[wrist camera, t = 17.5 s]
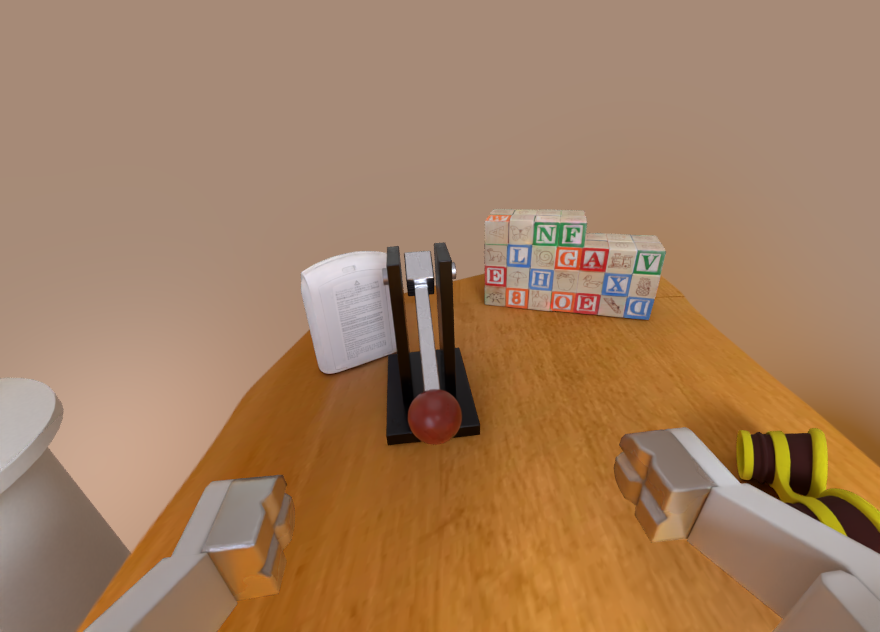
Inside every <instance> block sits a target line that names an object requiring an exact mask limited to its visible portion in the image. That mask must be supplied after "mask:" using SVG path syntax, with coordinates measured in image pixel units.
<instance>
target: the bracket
mask: <svg viewBox="0 0 880 632" xmlns="http://www.w3.org/2000/svg"><path fill="white" fill-rule="evenodd" d="M434 256H435V273H436V292H437V309H438V327H439V345H440V350H436V359H437V367H438V375H439V383H440V390H443V391H446V392H448V393H450V394H451V395H452V396H453V397H454V398H455V399H456V400H457V402H458V404H459V406H460V408H461V413H462V421H461V425H460V428H459V430H458V432H457V433H456V435H455V436H454V437H453V438H455V437H464V436H473V435H480V423H479V419H478V415H477V412H476V408H475V404H474V401H473V397H472V393H471V389H470V386H469V382H468V378H467V375H466V371H465V367H464V364H463V360H462V356H461V353H460V349H459V348H455V340H454V310H453V280H452V279H456V266H455V263H454V262H452V260H451V257H450V255H449V252H448V249H447V247H446V244H445V243H435V244H434ZM382 276H383V283H384V285H389V292H390V300H391V308H392V316H393V324H394V332H395V340H396V349H397V354H389V355H388V387H387V428H386V437H387V443H388V445H395V444H403V443H412V442H421V440H419V439H418V438H417V437H416V436H415V435H414V434H413V432H412V431H411V429H410V426H409V423H408V411H409V408H410V405H411V403H412V401H413V400H414V399H415V398H416V397H417V396H418V395H419V394H420V393H422V392H424V385H423V375H422V365H421V354H420V352H410V349H409V339H408V330H407V320H406V310H405V301H404V292H403V283H402V282H403V281H402V272H401V263H400V253H399V246H395V247H387V262H386V268H382Z"/></svg>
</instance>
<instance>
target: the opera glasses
mask: <svg viewBox="0 0 880 632" xmlns="http://www.w3.org/2000/svg"><path fill="white" fill-rule="evenodd" d="M736 458H737V468H738V473H739V477H740V478H741V479H744V480H750V479H751V478H754V479H757V481H758V482H760V483H763V482H766V483H768V484H769V486H770V487H772V488H774V490H775V491H776V492H777V494H778V496H779V498H780V500H781V501H782V502H783V503H785V504H787V505H789V506H791V507H793V508H795V509H797V510H798V511H800V512H802V513H804V514H806V515H808V516H810V517H811V518H813V519H815V520H817V521H819V522H821V523H823V524H825V525H826V526H828V527H830V528H832V529H834V530H836V531H838V532H840V533H841V534H843V535H845V536H847V537H849V538H851V539H853V540H854V541H856V542H858V543H860V544H862V545H864V546H866V547H868V548H869V549H871V550H873V551H875V552H877V553H879V554H880V512H879V511H878V510H877V509H876V508H875V507H874V506H873V505H871V504H870V503H869V502H867V501H866V500H865V499H863V498H862V497H860V496H858V495H856V494H854V493H852V492H849V491H847V490H843V489H837V488H835V489H827V490H826V484H827V472H828V455H827V444H826V438H825V435H824V433H823V432H822V431H821V430H820V429H817V428H811V429H809V431H808V433H798V434H784V433H783V432H782V431H768V432H767V433H766V434H762V433H760V432H757V433H756V434H751V435H750V433H749V432H748V431H745V430H739V431H738V434H737V442H736ZM796 493H798V494H801V495H803V496H801V495H798V494H796ZM841 498H842V499H841Z"/></svg>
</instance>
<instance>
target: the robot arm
mask: <svg viewBox="0 0 880 632" xmlns="http://www.w3.org/2000/svg"><path fill="white" fill-rule="evenodd" d="M619 446H620V447H621V449H622V450H623V452H622V453H621V454H620V455H618V456H617V457H616V459H615V464H614V473H615V479H616V482H617V484H618V487H619V489H620V491H621V493H622V494H623V496H624V498H626V499H627V500H629V501H630V502H632V503H633V504H634V505H636V507H635V516H636V518H637V520H638V521H639V523H640V525H641V526H642V528H643V530H644V531H645V533H646V535H647V536H648V538H649V540H650V541H651V543H652V542H661V541H670V540H680V539H687V541H688V542H689V543H690V544H691V545H693V546H694V547H695V548H696V549H698V550H699V551H700V552H701V553H702V554H704V555H705V556H706V557H707V558H709V559H710V560H711V561H712V562H714V563H715V564H716V565H717V566H719V567H720V568H721V569H722V570H723V571H725V572H726V573H727V574H728V575H730V576H731V577H732V578H733V579H735V580H736V581H737V582H738V583H739V584H741V585H742V586H743V587H744V588H746V589H747V590H748V591H749V592H751V593H752V594H753V595H754V596H755V597H757V598H758V599H759V600H760V601H762V602H763V603H764V604H765V605H767V606H768V607H769V608H770V609H771V610H773V611H774V612H775V613H776V614H778V615H779V616H780V617H781V618H783V619H782V621H781V622H780V623H779V624H778V625H777V627H776V628H775V629H774V630H773V631H772V632H880V554H879V553H877V552H875V551H873V550H871V549H869V548H868V547H866V546H864V545H862V544H860V543H858V542H856V541H854V540H853V539H851V538H849V537H847V536H845V535H843V534H841V533H840V532H838V531H836V530H834V529H832V528H830V527H828V526H826V525H825V524H823V523H821V522H819V521H817V520H815V519H813V518H811V517H810V516H808V515H806V514H804V513H802V512H800V511H798V510H797V509H795V508H793V507H791V506H789V505H787V504H785V503H783V502H782V501H780V500H778V499H776V498H774V497H772V496H770V495H768V494H767V493H765V492H763V491H761V490H759V489H757V488H755V487H754V486H752V485H750V484H748V483H743V484H741V483H740V482H739V481H738V480H737V479H736V478H735V477H734V476H733V475H732V474H731V472H730V471H729V470H728V469H727V468H726V467H725V466H724V465H723V464H722V463H721V462H720V461H719V460H718V458H717V457H716V456H715V455H714V454H713V453H712V452H711V451H710V450H709V449H708V448H707V447H706V446H705V444H704V443H703V442H702V441H701V440H700V439H699V438H698V437H697V436H696V435H695V434H694V433H693V432H692V431H691V430H690V429H688V428H686V427H683V428H674V429H666V430H655V431H647V432H639V433H632V434H625V435H624V436H623V437H622V438H621V441H620V444H619ZM286 486H287V483H286V481H285V479H284V476H283V475H275V476H264V477H252V478H241V479H232V480H222V481H212V482H211V483H210V484H209V485H208V486H207V487H206V488H205V490H204V492H203V494H202V496H201V498H200V500H199V502H198V504H197V506H196V508H195V510H194V512H193V514H192V516H191V518H190V520H189V522H188V524H187V526H186V528H185V530H184V532H183V534H182V536H181V538H180V540H179V542H178V544H177V546H176V548H175V550H174V552H173V554H172V556H171V557H168V558H163V559H162V560H161V561H160V562H159V563H158V564H157V565H155V566H154V567H153V568H152V569H151V570H150V571H149V572H148V573H147V574H146V575H144V576H143V577H142V578H141V579H140V580H139V581H138V582H137V583H136V584H135V585H134V586H132V587H131V588H130V589H129V590H128V591H127V592H126V593H125V594H124V595H123V596H121V597H120V598H119V599H118V600H117V601H116V602H115V603H114V604H113V605H112V606H111V607H109V608H108V609H107V610H106V611H105V612H104V613H103V614H102V615H101V616H100V617H98V618H97V619H96V620H95V621H94V622H93V623H92V624H91V625H90V626H89V627H88V628H86V629H85V630H84V631H83V632H217V631H218V630H219V628H220V627H221V625H222V624H223V623H224V621H225V620H226V619H227V617H228V616H229V615H230V613H231V612H232V611H233V609H234V608H235V606H236V605H237V601H240V600H246V599H252V598H258V597H264V596H270V595H276V594H279V591H280V586H281V582H282V578H283V574H284V570H285V566H286V558H285V556H284V553H283V550H284V548H285V547H286V546H287V545H288V544H289V543H290V541H291V540H292V536H293V531H294V525H295V508H294V502H293V500H292V497H291V496H289V495H288V494H286V493H285V490H286Z"/></svg>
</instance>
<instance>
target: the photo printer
mask: <svg viewBox="0 0 880 632" xmlns="http://www.w3.org/2000/svg"><path fill="white" fill-rule="evenodd" d="M386 262H387V253H382V252H376V251H361V252H351V253H345V254H341V255H338V256H334V257H331V258H328V259H326V260H324V261H321V262H319V263H317V264H315V265H313V266H311V267H309V268H308V269H306V270H304V271H303V272H301V282H302V283H301V294H302V297H303V302H304V306H305V311H306V315H307V319H308V323H309V328H310V332H311V336H312V341H313V345H314V349H315V353H316V358H317V362H318V366H319V369H320V370H321V371H322V372H324V373H327V374H332V373H337V372H340V371H343V370H346V369H349V368H352V367H355V366H358V365H361V364H364V363H366V362H369V361H372V360H375V359H378V358H381V357H383V356H387V355H389V354H392V353H394V352H397V349H396V340H395V332H394V324H393V316H392V308H391V300H390V292H389V285H384V283H383V276H382V268H386Z"/></svg>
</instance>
